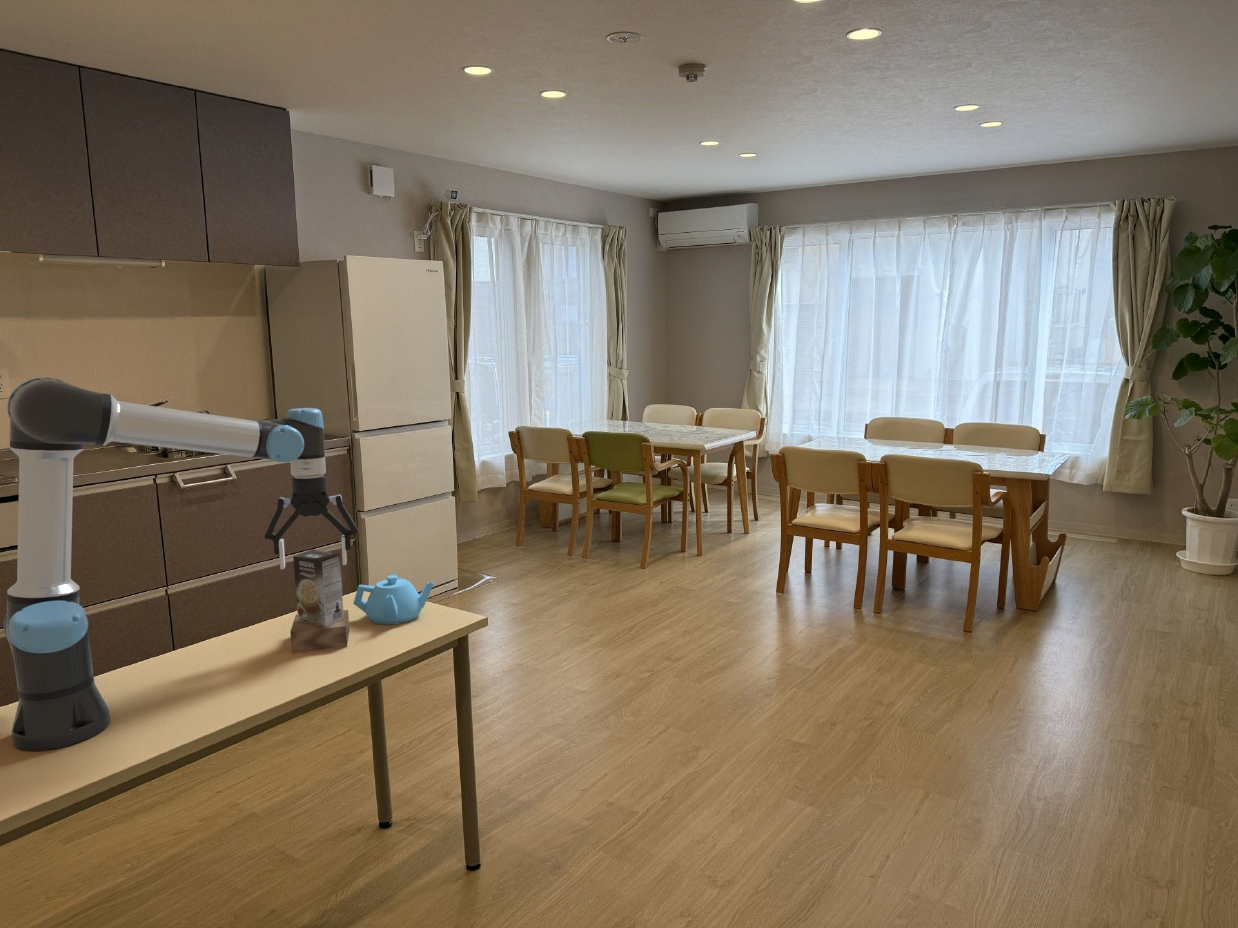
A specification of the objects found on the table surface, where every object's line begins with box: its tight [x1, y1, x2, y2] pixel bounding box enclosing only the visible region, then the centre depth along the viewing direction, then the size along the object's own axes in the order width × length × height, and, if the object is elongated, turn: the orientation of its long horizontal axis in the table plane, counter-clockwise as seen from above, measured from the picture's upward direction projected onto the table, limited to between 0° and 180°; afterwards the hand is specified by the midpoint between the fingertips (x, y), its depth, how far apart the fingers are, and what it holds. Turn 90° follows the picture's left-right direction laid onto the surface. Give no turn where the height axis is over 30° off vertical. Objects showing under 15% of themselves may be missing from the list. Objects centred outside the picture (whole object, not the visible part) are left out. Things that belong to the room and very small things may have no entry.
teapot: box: [352, 573, 434, 626], centre depth 214 cm, size 15×15×11 cm
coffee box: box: [292, 549, 344, 627], centre depth 197 cm, size 9×6×16 cm
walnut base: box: [289, 609, 350, 654], centre depth 199 cm, size 12×12×5 cm
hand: (314, 565), depth 196 cm, fingers open, 13 cm apart
